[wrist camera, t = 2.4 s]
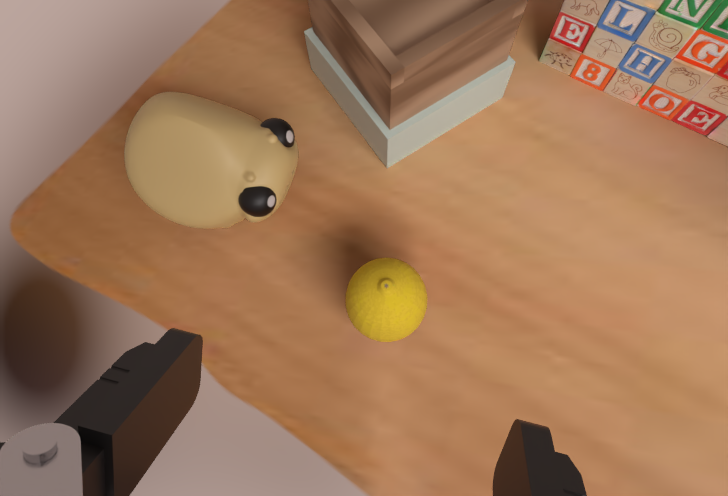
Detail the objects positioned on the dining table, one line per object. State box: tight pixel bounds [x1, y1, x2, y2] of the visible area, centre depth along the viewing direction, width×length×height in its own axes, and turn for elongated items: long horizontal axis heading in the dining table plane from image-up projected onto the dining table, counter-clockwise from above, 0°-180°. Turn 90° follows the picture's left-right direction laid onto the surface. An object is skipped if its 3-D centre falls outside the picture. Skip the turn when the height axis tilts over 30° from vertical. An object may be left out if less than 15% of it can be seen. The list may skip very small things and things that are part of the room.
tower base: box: [304, 27, 515, 168], centre depth 43 cm, size 12×12×5 cm
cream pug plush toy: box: [124, 92, 299, 229], centre depth 37 cm, size 10×12×11 cm
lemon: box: [346, 258, 427, 342], centre depth 35 cm, size 6×6×8 cm
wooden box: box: [308, 0, 528, 130], centre depth 38 cm, size 11×11×6 cm
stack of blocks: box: [539, 0, 728, 147], centre depth 38 cm, size 21×6×12 cm, turn 59°
